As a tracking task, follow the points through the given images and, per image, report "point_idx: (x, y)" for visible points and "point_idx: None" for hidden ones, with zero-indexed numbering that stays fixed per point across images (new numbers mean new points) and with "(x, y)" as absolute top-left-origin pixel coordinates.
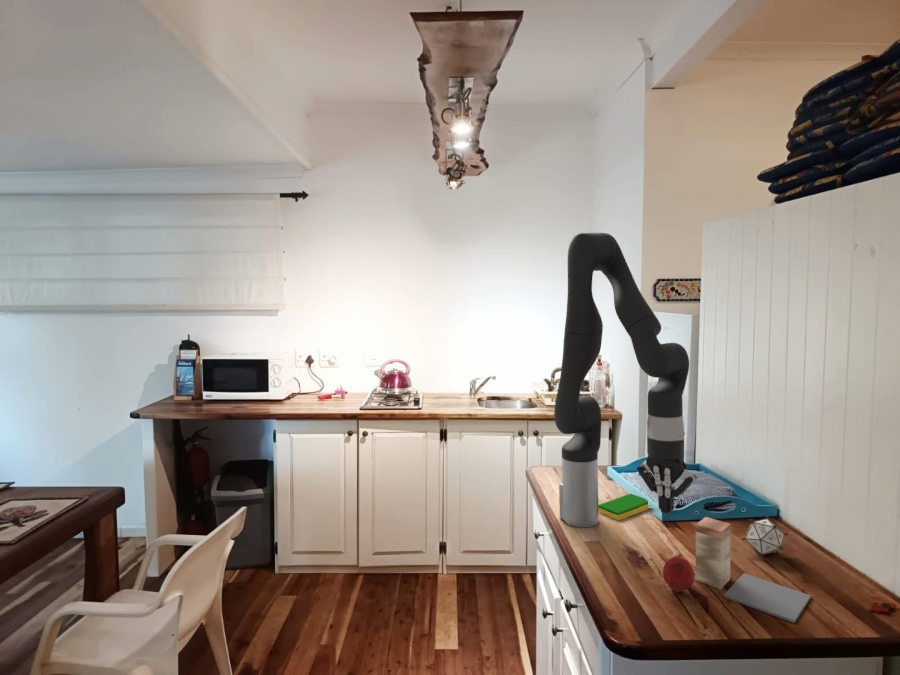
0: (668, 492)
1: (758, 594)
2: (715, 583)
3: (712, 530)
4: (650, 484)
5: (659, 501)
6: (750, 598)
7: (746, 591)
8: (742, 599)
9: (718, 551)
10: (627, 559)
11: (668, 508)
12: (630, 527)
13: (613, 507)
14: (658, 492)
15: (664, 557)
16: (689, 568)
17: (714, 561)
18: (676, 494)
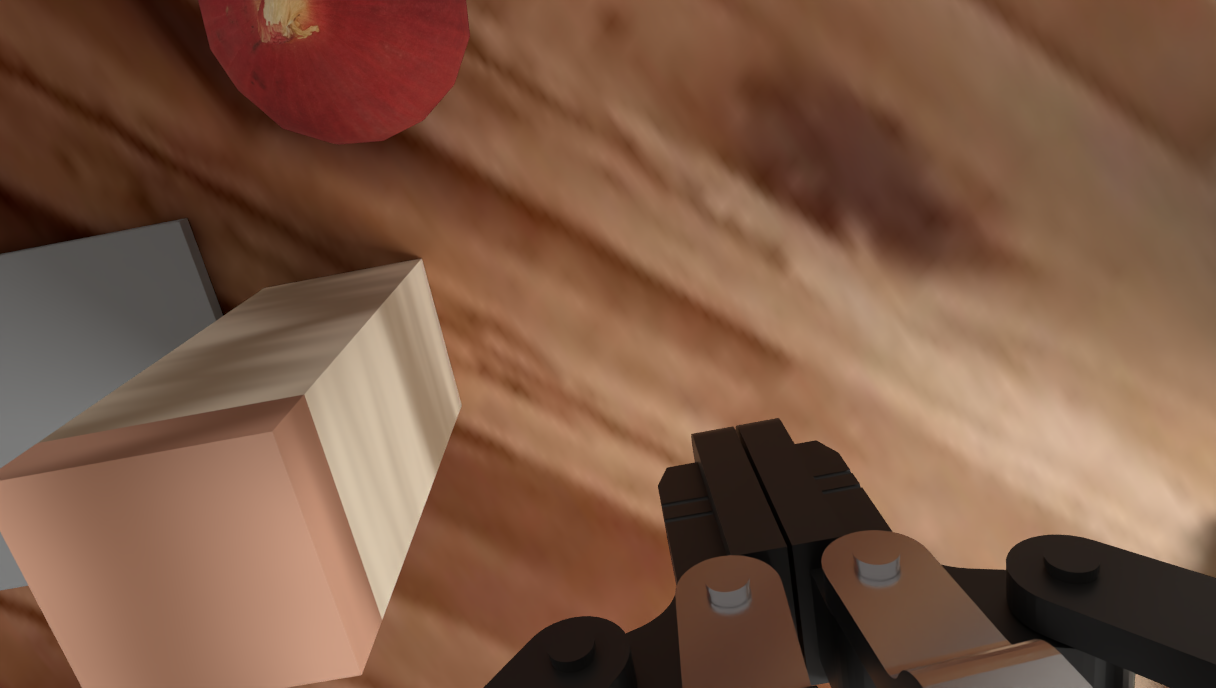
0: (717, 632)
1: (87, 392)
2: (287, 289)
3: (83, 460)
4: (1164, 617)
5: (850, 496)
6: (75, 314)
7: (141, 366)
8: (84, 263)
9: (145, 381)
10: (886, 108)
11: (696, 483)
12: (1124, 510)
13: None
14: (910, 563)
15: (726, 346)
16: (206, 23)
17: (225, 336)
18: (551, 660)
